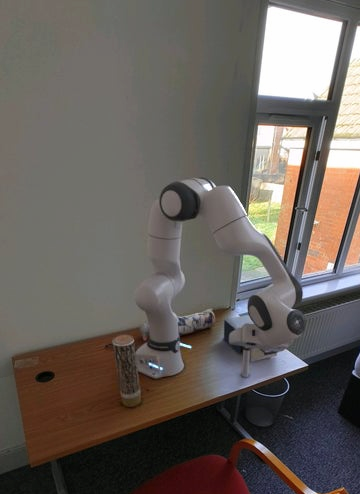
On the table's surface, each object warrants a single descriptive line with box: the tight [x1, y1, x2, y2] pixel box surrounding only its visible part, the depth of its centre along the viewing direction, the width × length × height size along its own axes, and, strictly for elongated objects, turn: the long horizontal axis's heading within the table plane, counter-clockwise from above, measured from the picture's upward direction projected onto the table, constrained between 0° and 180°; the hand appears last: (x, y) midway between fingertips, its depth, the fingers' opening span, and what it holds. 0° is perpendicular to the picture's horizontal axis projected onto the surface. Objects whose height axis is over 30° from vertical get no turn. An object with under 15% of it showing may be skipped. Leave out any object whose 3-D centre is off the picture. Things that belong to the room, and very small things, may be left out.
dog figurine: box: [139, 322, 150, 341], centre depth 165 cm, size 5×13×11 cm, turn 92°
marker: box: [241, 346, 250, 378], centre depth 134 cm, size 3×3×14 cm
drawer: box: [242, 346, 279, 363], centre depth 147 cm, size 19×12×8 cm, turn 21°
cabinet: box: [223, 314, 253, 355], centre depth 157 cm, size 15×13×10 cm
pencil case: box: [177, 308, 216, 337], centre depth 169 cm, size 22×8×10 cm, turn 117°
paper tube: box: [112, 334, 142, 408], centre depth 120 cm, size 7×7×25 cm
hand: (248, 346), depth 128 cm, fingers closed
